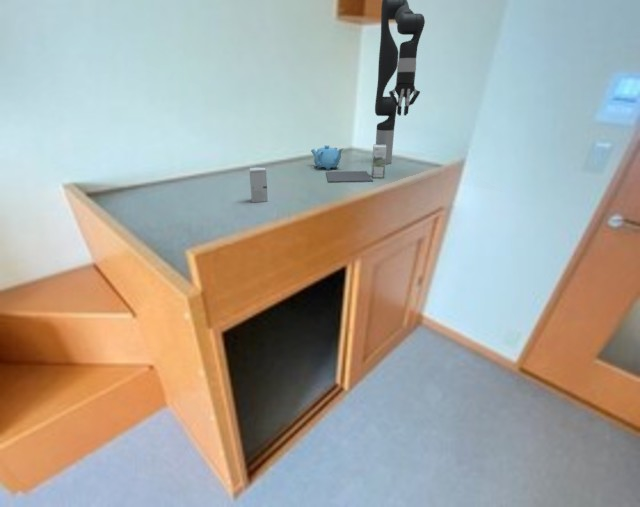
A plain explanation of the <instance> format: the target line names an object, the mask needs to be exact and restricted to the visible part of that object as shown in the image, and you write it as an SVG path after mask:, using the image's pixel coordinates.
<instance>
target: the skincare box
mask: <svg viewBox="0 0 640 507" xmlns="http://www.w3.org/2000/svg"><path fill="white" fill-rule="evenodd" d="M248 169H249V170H248V171H249V181H250V182H249V183H250V193H251V197H250V198H251V202H252V203H259V202H268V201H269V200H268V183H267V179H268V178H267V169H266V167H265V166H264V167H249V168H248Z"/></svg>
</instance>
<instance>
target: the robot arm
mask: <svg viewBox="0 0 640 507" xmlns="http://www.w3.org/2000/svg"><path fill="white" fill-rule="evenodd" d="M380 12H381V13H380V14H381V15H380V42H379V52H378V56H379V57H378V68H377V70H378V71H377V73H378V74H377V86H376V96H375V103H374V104H375V105H374V112H375V116H378V117H387V118H386V119H385V120H383V121H381V122H378V123H377V124H376V131H375V132H376V134H375V144H376V145H386V147H387V148H386V160H385V165H389V164H392V160H393V148H394V135H395V127H396V126H395V125H396V116H397V115H398V116H402V110H403V116H407V115H408V114H409V110H410V109H409V108H410V106H412V105H414V103H415V102H416V100H417V98H418V97H419V95H420V93H421V91H420V90H418V89H416V87H415V80H416V71H417V55H418V54H417V53H418V46H419V44H420V38H421V36H422V33H423V30H424V27H425V23H426V20H425V17H424V15H423V14H422V13H414V11H413V10H412V9H411V8H410V5H409V2H408V0H381V11H380ZM390 20H395V23H396V28H397V33H398V34H400V35H404V36H405V35H406V36H407V35H409V36H412V38H411V39H410V40H408V41H407V40H406V41H404V42H401V43H400V45H399V50H398V46H397V44H396V41H395V40H394V38H393V36H392V32H391V30H390V29H391V28H390ZM395 73H396V82H395V85H394V89H392V90H389V91H388V94H389V96H384V93H385V90H386V87H387V86H388V83H389V82H390V80H391V79H392V78H393V76H394V74H395ZM412 94H413V96H412V97H411V95H412ZM395 95H397V97H396V96H395ZM403 100H404V107H403V109H402V103H403Z"/></svg>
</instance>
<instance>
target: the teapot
mask: <svg viewBox="0 0 640 507" xmlns="http://www.w3.org/2000/svg"><path fill="white" fill-rule="evenodd" d="M343 150H344V148H339V149H338V147H330V145H327V144H326V145H324V147H319V148H317V150H316V149H315V148H312V149H311V150H310V152H311V153H312V155H313V156H314V159H313V160H314V161H313V162H314V165H315V166H316V167H317V169H318V170H320V169H322V168H325V170H326V171H331V168H333V169H337V166H339V164H340V160H341V157H342V151H343Z"/></svg>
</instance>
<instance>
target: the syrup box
mask: <svg viewBox="0 0 640 507" xmlns="http://www.w3.org/2000/svg"><path fill="white" fill-rule="evenodd" d="M372 148H373V149H372V160H371V162H372V163H371V179H384V178H385V171H386V170H385V168H386V164H385V160H386V148H387V147H386V145H376V143H375V144H373V146H372Z"/></svg>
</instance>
